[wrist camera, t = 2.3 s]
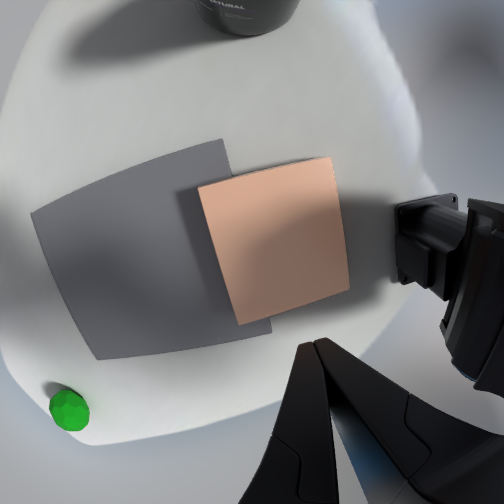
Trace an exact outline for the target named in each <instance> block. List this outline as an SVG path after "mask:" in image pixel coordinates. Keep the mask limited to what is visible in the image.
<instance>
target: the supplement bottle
mask: <svg viewBox="0 0 504 504" xmlns="http://www.w3.org/2000/svg"><path fill="white" fill-rule="evenodd" d="M195 2H196V5H197V9H198V11H199V13H200V15H201V16H202V18H203V19H204V20H205V21H206V22H207V23H209V24H210V25H211V26H213V27H214V28H216V29H218V30H221V31H223V32H227V33H230V34H236V35H259V34H264V33H268V32H271V31H273V30H275V29H277V28H279V27H281V26H282V25H284V24H285V23H286V22H287V21H288V20H289V19H290V18H291V17H292V15H293V14H294V12H295V10H296V8H297V6H298V4H299V2H300V0H195Z"/></svg>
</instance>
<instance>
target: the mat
mask: <svg viewBox="0 0 504 504" xmlns="http://www.w3.org/2000/svg"><path fill="white" fill-rule="evenodd" d="M231 177H232V173H231V169H230V166H229V162H228V158H227V154H226V150H225V146H224V142H223V139H219V140H215V141H211V142H208V143H204V144H201V145H197V146H194V147H190V148H187V149H184V150H181V151H177V152H174V153H171V154H168V155H165V156H162V157H159V158H156V159H153V160H151V161H148V162H145V163H142V164H140V165H137V166H134V167H131V168H129V169H126V170H124V171H121V172H119V173H116V174H114V175H111V176H109V177H106V178H104V179H102V180H99V181H97V182H95V183H92V184H90V185H88V186H85V187H83V188H81V189H79V190H77V191H75V192H72V193H70V194H68V195H66V196H64V197H62V198H60V199H58V200H56V201H54V202H52V203H50V204H48V205H46V206H44V207H42V208H40V209H38V210H37V211H35V212H33V213H31V216H32V219H33V223H34V226H35V229H36V232H37V235H38V238H39V241H40V244H41V246H42V249H43V252H44V255H45V257H46V260H47V262H48V265H49V267H50V270H51V272H52V275H53V277H54V279H55V281H56V284H57V286H58V288H59V290H60V293H61V295H62V297H63V299H64V301H65V303H66V305H67V307H68V309H69V311H70V313H71V315H72V317H73V319H74V321H75V323H76V325H77V327H78V328H79V330H80V332H81V334H82V336H83V337H84V339H85V341H86V343H87V344H88V346H89V348H90V349H91V351H92V353H93V354H94V356H95V358H96V359H97V360H106V359H117V358H127V357H136V356H145V355H152V354H160V353H167V352H174V351H181V350H187V349H193V348H199V347H205V346H211V345H216V344H221V343H227V342H232V341H237V340H242V339H247V338H251V337H256V336H260V335H265V334H269V333H272V328H271V324H270V320H269V317H266V318H263V319H259V320H256V321H253V322H249V323H246V324H242V325H238V322H237V318H236V315H235V312H234V309H233V306H232V303H231V300H230V296H229V293H228V290H227V287H226V284H225V280H224V277H223V274H222V271H221V267H220V264H219V261H218V257H217V254H216V251H215V247H214V244H213V240H212V237H211V234H210V230H209V227H208V223H207V220H206V216H205V213H204V209H203V206H202V202H201V198H200V195H199V191H198V186H201V185H205V184H209V183H212V182H216V181H219V180H223V179H227V178H231Z"/></svg>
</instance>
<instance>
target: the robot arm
mask: <svg viewBox="0 0 504 504" xmlns="http://www.w3.org/2000/svg"><path fill="white" fill-rule="evenodd" d="M452 198H453V201H452ZM467 207H468V208H469V209H468V214H466V213H463V212H460V211H458V197H457V195H456V194H453V193H449V194H444V195H439V196H435V197H430V198H426V199H421V200H417V201H412V202H408V203H403V204H399V205H397V206H396V208H395V223H396V235H395V246H396V266H397V267H398V281H399V282H400V283H401V284H402V285H406V284H409V283H412V282H415V281H416V282H417V283H418V284H419V285H420V286H422V287H423V288H424V289H427V288H429V289H430V290H431V291H433V292H434V293H435V294H436V295H437V296H438V297H440V298H441V299H442V300H443V301H447V300H449V303H448V306H447V310H446V313H445V316H444V319H442V321H441V324H440V329H441V332H442V334H443V336H444V338H445V343H446V347H447V348H448V350H449V352H450V354H451V356H452V359H451V362H452V364H453V365H454V367H455V368H456V369H457V370H458V371H459V372H460V373H461V374H462V375H464V376H465V377H466V378H468V379H470V380H471V381H474V382H475V384H474V385H473V388H474V389H475V390H480V391H487V392H491V393H493V394H496V395H499V396H501V397H503V398H504V204H499V203H494V202H489V201H483V200H477V199H471V198H468V205H467ZM401 209H403V212H402V214H400V210H401ZM405 276H406V277H405ZM404 277H405V279H404V280H403V278H404ZM331 416H332V419H333V421H334V423H335V426H336V428H337V430H338V433H339V435H340V437H341V439H342V442H343V444H344V447H345V449H346V451H347V454H348V456H349V458H350V461H351V463H352V466H353V468H354V470H355V473H356V475H357V477H358V480H359V482H360V484H361V487H362V489H363V492H364V494H365V496H366V499H367V501H368V504H504V435H498V434H494V433H491V432H488V431H486V430H483V429H481V428H478V427H476V426H473V425H471V424H469V423H467V422H464V421H462V420H459V419H457V418H455V417H453V416H451V415H448V414H446V413H444V412H442V411H440V410H438V409H436V408H434V407H433V406H431V405H429V404H428V403H426V402H424V401H423V400H421V399H419V398H418V397H416V396H414V395H413V394H409V392H408V391H407V390H405V389H404V388H402V387H400V386H399V385H397V384H396V383H394V382H393V381H391V380H390V379H388V378H387V377H385V376H384V375H382V374H381V373H379V372H378V371H376V370H375V369H373V368H371V367H370V366H368V365H367V364H366V363H364V362H362V361H361V360H360V359H358V358H357V357H355V356H354V355H352V354H351V353H349V352H348V351H346V350H345V349H343V348H342V347H340V346H339V345H337V344H336V343H335V342H333V341H332V340H330V339H329V338H321V339H318V340H315V341H314V342H306V343H302V344H299V345H298V348H297V352H296V355H295V359H294V363H293V366H292V370H291V373H290V377H289V380H288V383H287V387H286V390H285V394H284V397H283V400H282V404H281V407H280V410H279V413H278V416H277V419H276V422H275V425H274V428H273V431H272V436H271V437H270V440H269V442H268V445H267V448H266V451H265V453H264V456H263V458H262V461H261V463H260V465H259V467H258V469H257V471H256V473H255V475H254V477H253V479H252V481H251V483H250V484H249V486H248V488H247V490H246V491H245V493H244V494H243V496H242V498H241V499H240V501H239V503H238V504H339V492H338V479H337V468H336V458H335V448H334V440H333V430H332V423H331Z"/></svg>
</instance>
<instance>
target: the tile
mask: <svg viewBox="0 0 504 504" xmlns="http://www.w3.org/2000/svg"><path fill="white" fill-rule="evenodd" d="M198 191H199V195H200V198H201V202H202V206H203V209H204V213H205V216H206V220H207V223H208V227H209V230H210V234H211V237H212V240H213V244H214V247H215V251H216V254H217V257H218V261H219V264H220V267H221V271H222V274H223V277H224V280H225V284H226V287H227V290H228V293H229V296H230V300H231V303H232V306H233V309H234V312H235V315H236V318H237V322H238V325H242V324H246V323H249V322H253V321H256V320H259V319H263V318H266V317H269V316H272V315H275V314H279V313H282V312H285V311H288V310H291V309H294V308H297V307H300V306H303V305H306V304H309V303H312V302H315V301H318V300H321V299H324V298H327V297H329V296H332V295H335V294H338V293H341V292H343V291H346V290H349V289H350V282H349V272H348V263H347V254H346V246H345V238H344V230H343V223H342V217H341V210H340V204H339V198H338V192H337V186H336V181H335V175H334V170H333V165H332V160H331V157H319V158H314V159H309V160H304V161H299V162H294V163H289V164H285V165H280V166H276V167H271V168H267V169H263V170H259V171H254V172H250V173H246V174H242V175H238V176H234V177H231V178H227V179H223V180H219V181H216V182H212V183H209V184H205V185H201V186H198Z"/></svg>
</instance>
